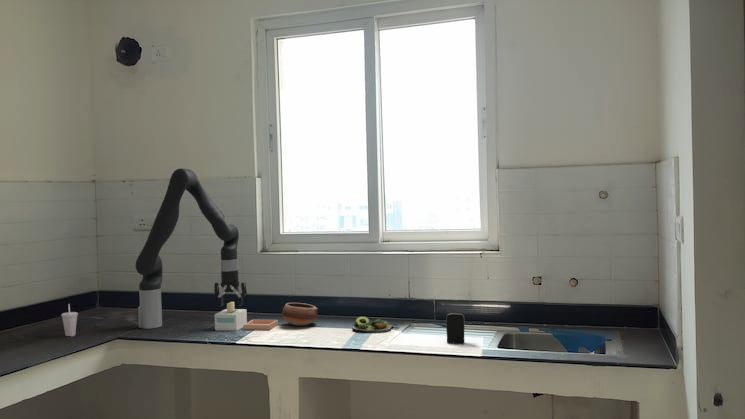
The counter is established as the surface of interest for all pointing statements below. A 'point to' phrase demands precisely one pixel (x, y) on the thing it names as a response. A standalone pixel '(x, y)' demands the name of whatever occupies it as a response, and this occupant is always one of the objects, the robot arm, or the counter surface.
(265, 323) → the dish
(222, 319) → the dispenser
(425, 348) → the counter surface
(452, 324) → the battery
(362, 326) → the salad plate
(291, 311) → the bowl
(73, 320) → the smoothie
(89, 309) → the counter surface
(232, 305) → the pale yellow flat piece
